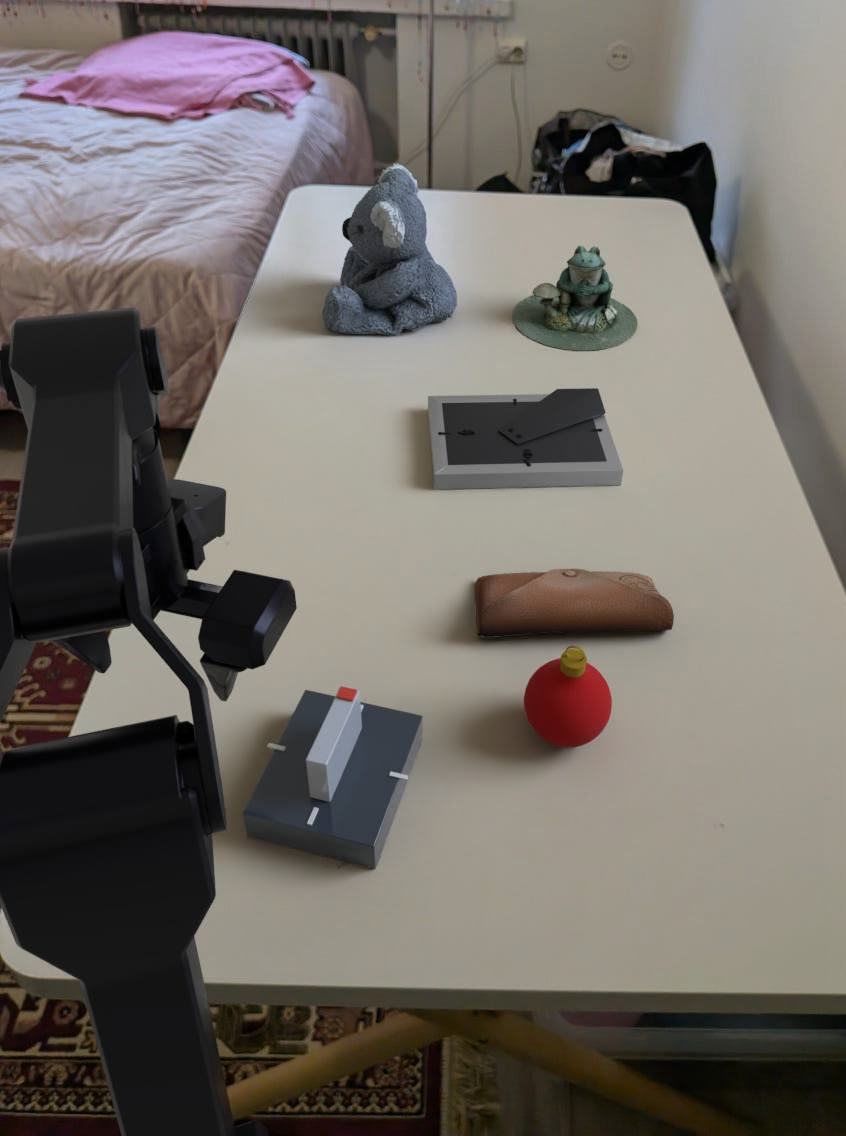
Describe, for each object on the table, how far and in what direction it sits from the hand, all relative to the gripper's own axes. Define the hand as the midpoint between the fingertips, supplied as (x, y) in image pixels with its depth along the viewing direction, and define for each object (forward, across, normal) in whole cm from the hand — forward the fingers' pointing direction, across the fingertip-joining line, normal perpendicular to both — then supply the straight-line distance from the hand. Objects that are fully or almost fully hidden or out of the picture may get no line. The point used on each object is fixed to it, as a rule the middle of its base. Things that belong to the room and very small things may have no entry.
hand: (165, 682), depth 67 cm
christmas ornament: (+12, -27, -13) cm, 32 cm away
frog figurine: (+12, -16, -85) cm, 87 cm away
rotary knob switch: (+12, -11, -3) cm, 17 cm away
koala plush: (+12, +9, -79) cm, 80 cm away
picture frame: (+12, -15, -52) cm, 55 cm away
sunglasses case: (+12, -25, -27) cm, 39 cm away
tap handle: (+9, -11, -3) cm, 14 cm away
